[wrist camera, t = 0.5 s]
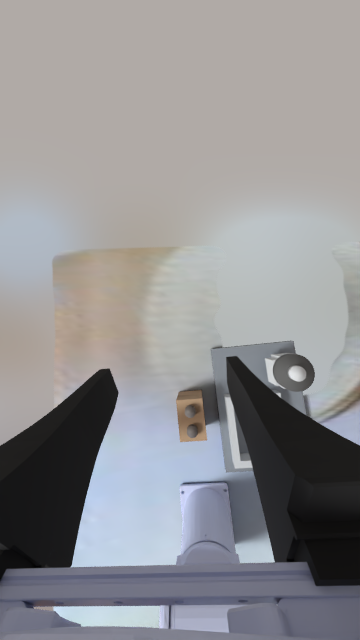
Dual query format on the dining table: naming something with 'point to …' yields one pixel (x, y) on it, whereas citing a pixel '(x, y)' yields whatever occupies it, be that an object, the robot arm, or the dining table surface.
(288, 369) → the wheel
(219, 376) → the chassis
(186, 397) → the block with grey pegs
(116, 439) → the dining table surface
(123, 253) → the dining table surface
